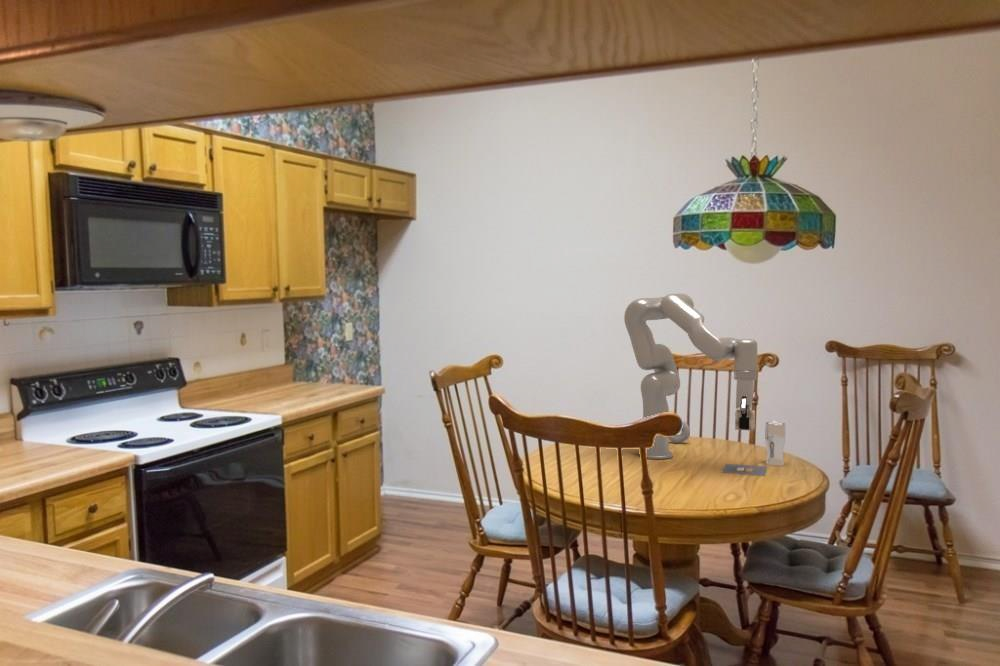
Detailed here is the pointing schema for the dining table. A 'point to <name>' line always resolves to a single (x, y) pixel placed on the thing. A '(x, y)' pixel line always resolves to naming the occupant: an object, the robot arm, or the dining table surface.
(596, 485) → the dining table surface
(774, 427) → the beer glass
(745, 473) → the gray mat
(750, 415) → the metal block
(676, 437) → the donut
